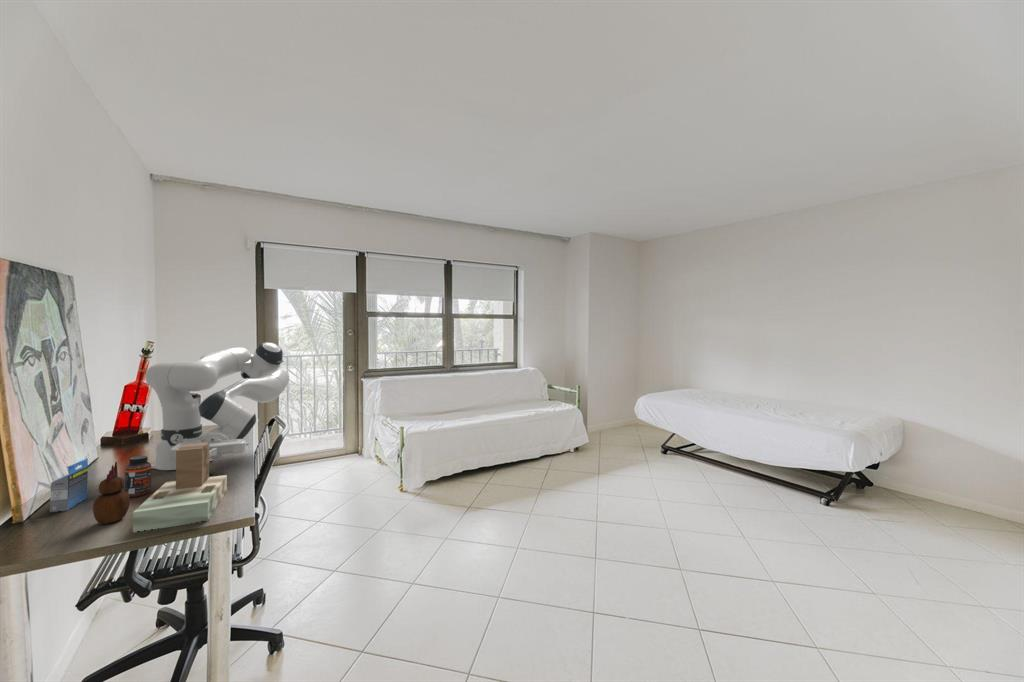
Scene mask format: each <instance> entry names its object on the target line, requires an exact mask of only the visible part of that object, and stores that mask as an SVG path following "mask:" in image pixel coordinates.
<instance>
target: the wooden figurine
mask: <svg viewBox="0 0 1024 682" xmlns="http://www.w3.org/2000/svg"><path fill="white" fill-rule="evenodd" d="M114 462H115V463H114V464H112V465H111V469H110V470H108V473H107V474H106V478H105V479H102V480H101V481H100V483H99V485H98V492H99V493H100V495H98V496H97V497H96V498H95V499H94V501H93V504H92V513H93V518H94V520H95V521H96V522H97V523H98V524H99V525H107V524H113V523H115V522H118V521H120V520H122V519H124V518H125V516H126V515H127V513H128V511H129V507H130V503H131V502H130V500H131V499H130V497H129V495H128V493H127V492H126V491H125V478H123V477H120V476H119V475H118V474H119V473H118V472H119V471H118V462H117V461H114Z"/></svg>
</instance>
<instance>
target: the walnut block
mask: <svg viewBox="0 0 1024 682" xmlns="http://www.w3.org/2000/svg"><path fill="white" fill-rule="evenodd" d="M209 474H210V462H209V442H202V443H190V444H184V445H183V446H182V447H180V448H179V449H178V450H176V470H175V481H176V489H183V488H191V487H199V486H202V485H203V484H204V483H205V482H206V481H207V479H208V478H209Z"/></svg>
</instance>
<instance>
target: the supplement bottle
mask: <svg viewBox="0 0 1024 682" xmlns="http://www.w3.org/2000/svg"><path fill="white" fill-rule="evenodd" d="M151 464H152V463H151V462H148V456H147V455H138V456H137V455H136V456H132V457H130V458H129V464H127V465H126V466H125V468H124V491H126V492H127V493H128V495H129V498H135V497H142V496H145V495H147V494H149V493H151V491H152V468H151Z"/></svg>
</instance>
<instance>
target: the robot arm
mask: <svg viewBox="0 0 1024 682" xmlns="http://www.w3.org/2000/svg"><path fill="white" fill-rule="evenodd" d="M283 354H284V353H283V349H282V348H281V347H280V346H279V345H278V344H277V343H274V342H269V341H268V342H267V341H266V342H265V341H264V342H262V343H260V344H259V345H258V346H257V347H256V349H255V352H254V353H253V354H252V353H251V352H250V350H249V349H247V348H245V347H242V346H240V347H239V346H237V347H229V348H223V349H220V350H218V351H217V350H216V351H212V352H210V353H209V352H208V353H205V354H203V355H202V356H200V358H199V359H197V360H192V361H164V362H163V361H162V362H159V363H155V364H153V365H151V366H150V367H149V368H147V370H146V372H145V377H144V378H145V380H146V381H145V382H146V383H147V385H149V387H151V388H152V389H153V391H154V392H155V393H156V396H157V398H158V399H159V403H160V407H161V412H162V429H160V439H161V441H160V442H159V443H157V444H156V445H155V451H154V452H155V453H154V463H151V469H155V470H158V471H176V450H178V449H179V448H180V447H182V446H183V445H184V444H190V443H202V442H209V463H211V462H210V461H212V460H213V461H214V460H216V459H219V458H221V457H223V456H228V455H235V454H236V455H237V454H244V453H245V452H246V450H247V446H249V445H250V441H248V440H246V439H245V437H246V436H247V435H248V434H249V433H250V431H251V430H252V429H253V427H254V426H255V425H256V423H257V415H256V413H254V411H252V410H251V409H249V408H247V407H245V406H244V405H242V404H241V403H239V402H238V401H235V400H234V398H235V397H238V396H240V397H243V398H247V399H250V400H251V401H254V402H257V403H262V404H265V403H271V402H273V401H275V400H276V399H277V398H279V396H281V394H282V393H283V392H284V390H285V389H286V387H287V386H288V384H289V381H290V375H289V372H287V371H286V370H285V369H284V368H282V367H281V364H282V363H283V362H284V358H283V357H284V356H283ZM239 372H240V376H241V378H242V379H240V380H239V381H236V382H234V383H232V384H231V385H228V386H227V387H225V388H223V389H221V390H219V391H216V392H213V393H212V394H210V395H208V396H207V397H205V398H204V399H203V400H202V401H201V403H199V402H198V401H196V400H195V399H194V397H193V396H192V394H191V392H200V391H201V392H202V391H206V390H209V389H212V388H213V387H215V385H216V384H217V382H218V380H219V379H220V380H221V379H223V378H225V377H228V376H231V375H233V374H236V373H239ZM201 418H202V419H203V418H204V419H205V420H208V421H211V422H212V423H213V424H215V425H217V426H216V427H215V428H213V429H211V430H210V431H208V432H207V433H203V424H202V423H201V421H202V420H201ZM213 461H212V462H213Z"/></svg>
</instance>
